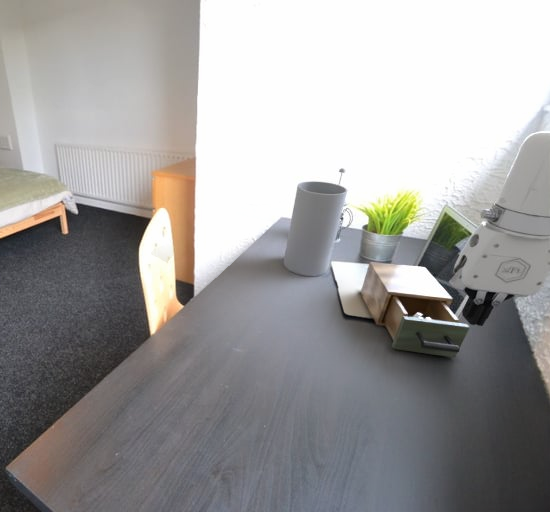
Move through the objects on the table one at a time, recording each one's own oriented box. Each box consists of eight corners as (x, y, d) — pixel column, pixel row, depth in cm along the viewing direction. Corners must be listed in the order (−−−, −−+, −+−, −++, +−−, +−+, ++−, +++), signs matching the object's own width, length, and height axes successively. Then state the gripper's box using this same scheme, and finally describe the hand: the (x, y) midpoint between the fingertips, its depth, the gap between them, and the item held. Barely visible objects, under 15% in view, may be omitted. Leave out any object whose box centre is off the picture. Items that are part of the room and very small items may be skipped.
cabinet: (437, 334, 84) (453, 298, 79) (376, 325, 86) (388, 291, 82) (412, 299, 96) (425, 267, 92) (360, 293, 99) (369, 261, 95)
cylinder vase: (336, 273, 109) (358, 191, 97) (303, 281, 105) (321, 197, 93) (305, 255, 119) (322, 179, 108) (274, 262, 115) (287, 184, 103)
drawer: (465, 372, 72) (482, 341, 68) (400, 363, 74) (413, 332, 71) (427, 319, 87) (439, 291, 84) (374, 312, 90) (383, 285, 86)
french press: (319, 230, 137) (335, 163, 125) (351, 240, 129) (371, 169, 118) (306, 237, 131) (320, 168, 120) (338, 248, 123) (357, 175, 112)
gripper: (477, 224, 53) (431, 327, 61) (606, 235, 49) (538, 341, 58) (452, 207, 59) (413, 302, 67) (564, 216, 56) (509, 314, 64)
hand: (471, 320), depth 63 cm, fingers closed
